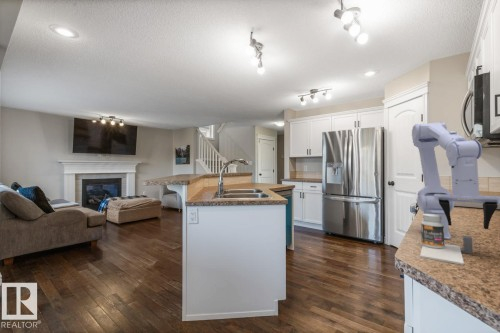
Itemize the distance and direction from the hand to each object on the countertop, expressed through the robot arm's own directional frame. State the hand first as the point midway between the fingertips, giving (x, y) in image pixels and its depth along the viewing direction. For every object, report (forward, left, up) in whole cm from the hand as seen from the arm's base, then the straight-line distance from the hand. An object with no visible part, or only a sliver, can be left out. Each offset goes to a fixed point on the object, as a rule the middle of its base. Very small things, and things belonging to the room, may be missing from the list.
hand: (467, 226), depth 66 cm
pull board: (+3, -5, -8) cm, 10 cm away
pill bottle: (0, -8, -8) cm, 11 cm away
